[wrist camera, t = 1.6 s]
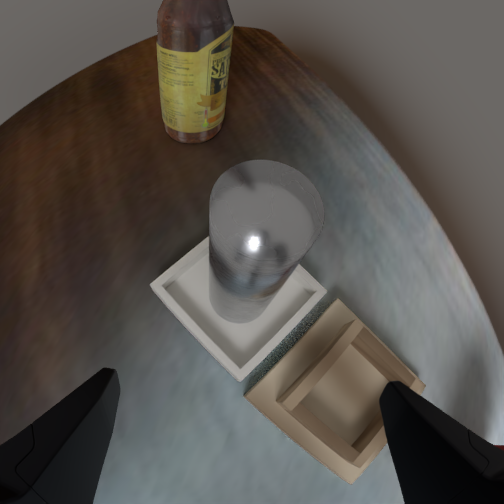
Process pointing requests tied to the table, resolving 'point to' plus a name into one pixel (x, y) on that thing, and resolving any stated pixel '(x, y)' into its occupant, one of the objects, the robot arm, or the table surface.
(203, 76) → the sauce bottle
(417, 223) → the table surface
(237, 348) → the tray
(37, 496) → the robot arm
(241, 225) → the cylinder
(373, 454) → the wooden socket base
